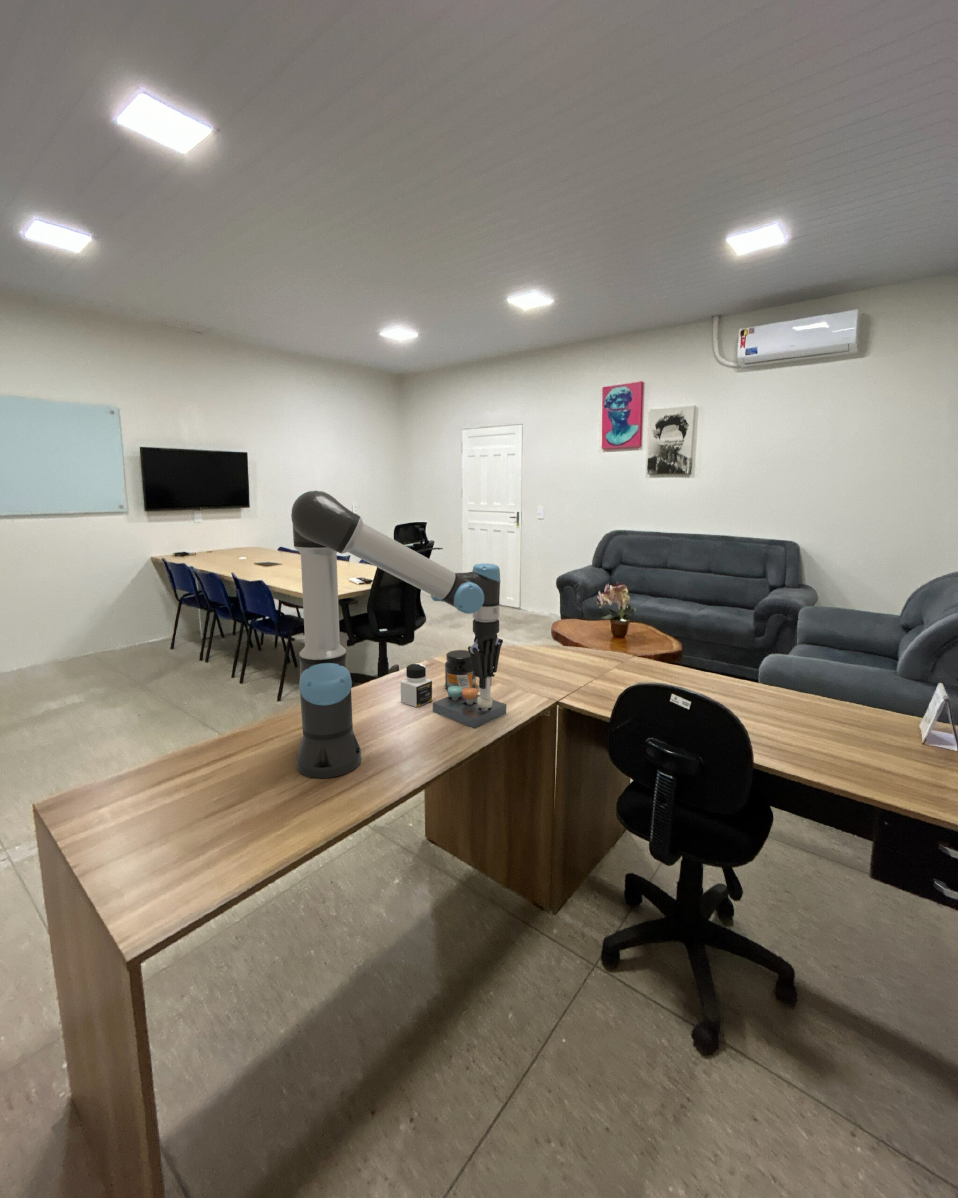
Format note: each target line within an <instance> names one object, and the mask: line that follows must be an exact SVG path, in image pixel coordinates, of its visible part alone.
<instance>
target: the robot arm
mask: <svg viewBox="0 0 958 1198" xmlns="http://www.w3.org/2000/svg"><path fill="white" fill-rule="evenodd" d="M290 515H291V516H290V517H291V522H292V537H293V539H292V541H293V548H294V549H295V550H296V551H297V552H299V554H300V566H301V568H300V569H301V585H302V587H301V588H302V591H301V592H302V606H303V609H302V610H303V611H302V612H303V626H304V647H303V648H302V649H301V651H299V670H300V671H299V672H300V673H299V682H298V690H299V695H300V711H301V713H300V714H301V726H302V728H301V729H302V738H301V741H300V744H299V747H298V748H299V749H298V752H297V754H296V769H297V771H298V772H299V773H300V774H302V775H303V776H306V777H308V778H312V779H330V778H336V777H340V776H343V775H345V774H348V773H350V772H352V771H354V770H355V769H356V768H358V766H359V765H360V764H361V762H362V750H361V747H360V744H359V742H358V740H357V737H356V734H355V732H354V728H353V727H354V725H353V723H354V721H353V702H352V699H353V698H352V686H353V683H352V682H353V681H352V677H351V673H350V671H349V669H348V667H347V664H348V663H347V649H346V648H345V647H344V646H343V645H341V644H340V617H339V616H340V614H339V610H340V609H339V590H338V588H339V587H338V581H339V580H338V560H337V559H338V556H337V555H338V553H339V554H341V555H342V554H346V553H349V554H351V555H352V556H355V557H357V558H359V559H361V560H362V561H365V563H366V562H367V563H369V564H371V565H372V566H374V567H377V569H380V570H382V571H384V572H385V573H388V574H390V575H391V576H393V577H396V578H397V579H400V580H401V581H403V582H405V583H407V584H409V585H411V586H413V587H415V588H417V589H418V590H419V589H420V590H421V591H423V592H424V593H427V594H429V595H430V597H431V599H432V601H433V602H441V603H446V604H448V605H450V606H452V607H453V608H455V609H456V610H457V611H459V612H461V613H464V614H467V615H469V614H472V618H473V620H472V632H473V633H474V638H473V643H472V645H469V646H468V647H467V651H469V653H470V656H471V662H472V667H473V673H474V676H476V678H478V680H479V681H478V682H479V683H478V685H479V689H480V690H479V695H480V698H483V699H486V700H488V699H490V697H491V689H492V688H491V686H492V677H493V678H494V677H495V676H496V674H495V673H497V670H498V666H499V658H500V654H501V648H502V645H503V643H504V639H502V638H499V637H498V633H499V632H500V620H499V618H500V603H501V602H500V597H501V593H500V592H501V570H500V567H499V566H498V565H497V564H495V563H476V564H474V565H473V566H472V571H469V572H454V571H453V570H450V569H449V568H446V567H445V566H443V565H442V564H439V563H437V562H435V561H434V560H432V559H430V558H428V557H426V556H425V555H423V554H421V553H419V552H418V551H416V550H413V549H411V548H410V547H408V546H406V545H405V544H402V543H401V542H399V541H397V540H396V539H393V538H392V537H389V536H388V535H386V534H384V533H382V532H380V531H378V530H377V529H375V528H373V527H372V526H370V525H367V524H366V523H364V521H363V518H362V516H360V515H358V514H357V513H355V512H353V511H352V510H350V509H348V507H346V506H344V505H343V504H342V503H340V502H339V500H337V499H336V498H335V497H334V496H332V495H331V494H329V493H327V492H324V491H322V490H321V491H320V490H310V491H305V492H304V493H301V494H300V495H299V496H298V497H297V498H296V499H295V501H294V503H293V504H292V508H291V513H290Z"/></svg>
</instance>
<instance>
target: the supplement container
mask: <svg viewBox="0 0 958 1198" xmlns="http://www.w3.org/2000/svg"><path fill="white" fill-rule="evenodd" d="M445 656H446V657H445V659H446V661H445V662H444V669H445V671H444V673H445V674H444V675H445V676H444V677H445V679H444V680H445V681H444V682H445V683H444V687H445V688H446V690H448V687H450V686H460V687H462V689H464V688H468V687H471V688H476V686H477V677H476V676H474V673H473V667H472V662H471V656H470V653H469V651H468V649H464V650H463V649H455V650H450V651H448V652H447V653H446V655H445Z"/></svg>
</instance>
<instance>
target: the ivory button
mask: <svg viewBox="0 0 958 1198" xmlns="http://www.w3.org/2000/svg"><path fill="white" fill-rule="evenodd" d="M492 699H493V697H491V696H490V699H488V700H486V699H483V698H480V697H478V698H477V706H478V707H480V708H481V711H484V712H487V711H488V708H490V707H492Z"/></svg>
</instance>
